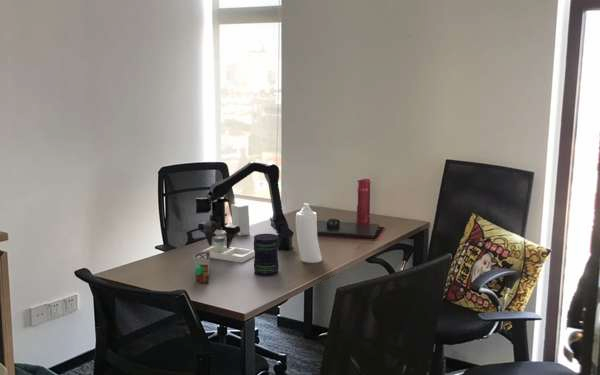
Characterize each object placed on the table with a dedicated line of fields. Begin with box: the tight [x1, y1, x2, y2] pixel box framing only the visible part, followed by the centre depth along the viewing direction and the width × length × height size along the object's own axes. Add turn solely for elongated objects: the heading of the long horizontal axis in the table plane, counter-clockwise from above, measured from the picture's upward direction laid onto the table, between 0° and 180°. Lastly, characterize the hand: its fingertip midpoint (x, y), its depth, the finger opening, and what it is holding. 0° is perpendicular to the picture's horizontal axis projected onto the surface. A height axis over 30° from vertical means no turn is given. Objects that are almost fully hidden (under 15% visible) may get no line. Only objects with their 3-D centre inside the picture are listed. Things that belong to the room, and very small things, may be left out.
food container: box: [192, 250, 211, 285], centre depth 236 cm, size 12×6×10 cm, turn 5°
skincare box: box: [230, 202, 251, 236], centre depth 306 cm, size 8×6×15 cm
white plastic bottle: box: [295, 202, 323, 264], centre depth 260 cm, size 12×11×25 cm
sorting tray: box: [201, 245, 255, 264], centre depth 268 cm, size 20×11×2 cm, turn 64°
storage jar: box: [253, 233, 279, 278], centre depth 244 cm, size 10×10×15 cm
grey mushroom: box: [212, 236, 226, 253], centre depth 270 cm, size 5×5×7 cm
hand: (219, 246), depth 270 cm, fingers open, 9 cm apart
